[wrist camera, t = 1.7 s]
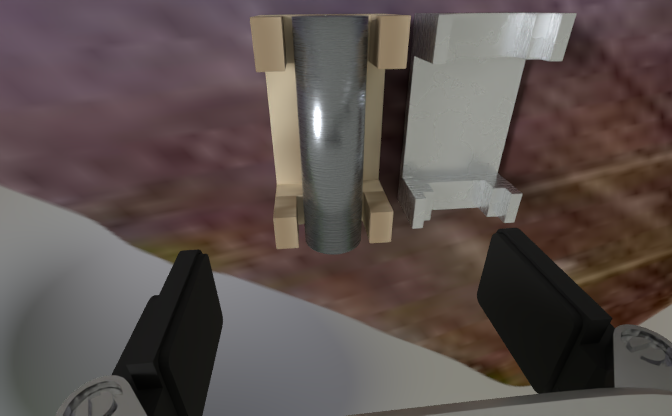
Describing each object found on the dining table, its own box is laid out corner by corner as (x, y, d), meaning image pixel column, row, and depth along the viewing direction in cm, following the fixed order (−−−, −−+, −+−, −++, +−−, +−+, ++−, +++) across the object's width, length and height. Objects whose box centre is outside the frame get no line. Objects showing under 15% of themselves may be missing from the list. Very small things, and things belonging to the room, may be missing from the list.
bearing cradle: (384, 13, 23) (410, 15, 17) (374, 201, 30) (390, 241, 24) (260, 15, 22) (249, 17, 17) (280, 205, 29) (276, 249, 24)
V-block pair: (530, 12, 23) (576, 13, 20) (486, 195, 30) (514, 222, 27) (414, 13, 23) (438, 14, 19) (397, 199, 30) (412, 228, 26)
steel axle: (361, 14, 20) (375, 16, 16) (356, 220, 27) (365, 252, 23) (292, 15, 20) (290, 17, 16) (305, 223, 27) (306, 256, 23)
